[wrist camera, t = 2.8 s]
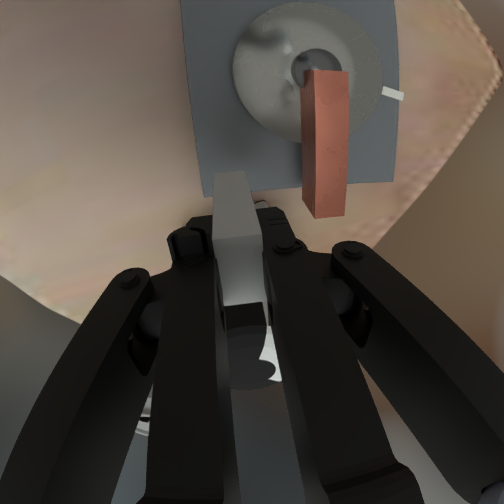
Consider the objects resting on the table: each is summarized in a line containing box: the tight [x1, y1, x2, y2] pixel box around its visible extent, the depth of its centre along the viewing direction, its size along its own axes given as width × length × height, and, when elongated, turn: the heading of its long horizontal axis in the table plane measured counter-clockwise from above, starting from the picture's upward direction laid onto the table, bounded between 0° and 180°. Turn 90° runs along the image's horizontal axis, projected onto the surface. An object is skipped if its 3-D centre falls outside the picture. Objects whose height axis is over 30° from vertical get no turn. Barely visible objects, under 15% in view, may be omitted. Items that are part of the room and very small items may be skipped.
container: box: [223, 201, 282, 390], centre depth 21 cm, size 8×8×13 cm
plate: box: [180, 0, 404, 198], centre depth 17 cm, size 18×16×2 cm
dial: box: [232, 2, 382, 219], centre depth 16 cm, size 14×10×5 cm
